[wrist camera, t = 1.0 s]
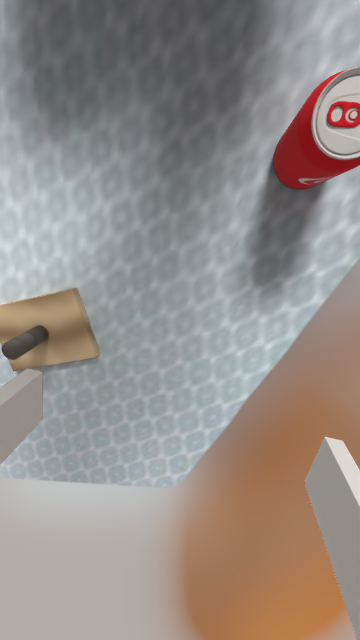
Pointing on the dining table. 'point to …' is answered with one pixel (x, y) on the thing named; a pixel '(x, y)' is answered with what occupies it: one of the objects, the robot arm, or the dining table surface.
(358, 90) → the beverage can
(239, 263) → the dining table surface
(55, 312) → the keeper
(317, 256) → the dining table surface
